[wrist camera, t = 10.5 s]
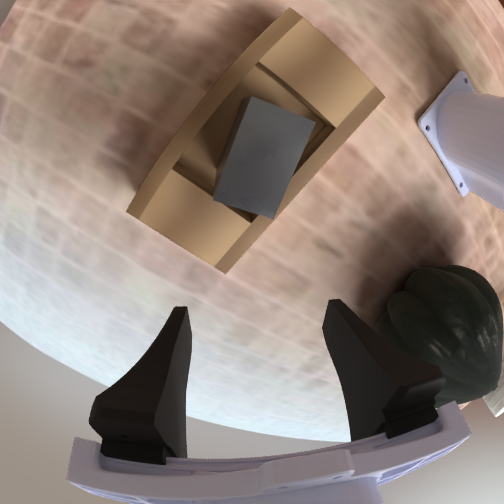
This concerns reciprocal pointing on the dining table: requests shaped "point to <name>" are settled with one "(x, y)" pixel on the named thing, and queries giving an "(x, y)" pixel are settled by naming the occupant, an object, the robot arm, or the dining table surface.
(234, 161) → the grey rectangular prism
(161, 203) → the open wooden tray
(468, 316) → the squash
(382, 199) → the dining table surface
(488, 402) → the supplement tub
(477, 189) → the robot arm
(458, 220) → the dining table surface
